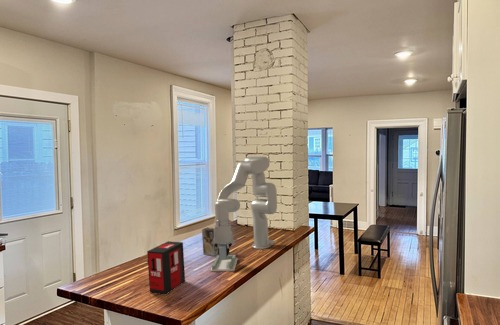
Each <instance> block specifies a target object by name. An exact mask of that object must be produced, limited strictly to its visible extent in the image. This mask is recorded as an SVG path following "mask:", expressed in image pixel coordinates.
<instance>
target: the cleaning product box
mask: <svg viewBox="0 0 500 325" xmlns="http://www.w3.org/2000/svg"><path fill="white" fill-rule="evenodd" d="M146 254H147V265H148V266H147V267H148V281H149V282H148V283H149V293H150V292H152V293H151V294H154V293H160V294H159V295H161V294H167V293H168V292H169V293H171V292H172V291H174V290H175V289H177V288H178V287H179V286H180V285H182V284H183V283H185V282H186V273H185V258H184V256H185V254H184V242H183V241H182V242H180V241H169V240H168V241H166V242H163V243H162V244H160V245H157V246H155V247H153V248H151V249H149V250H147V253H146ZM174 288H175V289H174ZM173 289H174V290H173ZM171 290H172V291H171ZM170 291H171V292H170ZM169 293H168V294H169ZM168 294H167V295H168Z"/></svg>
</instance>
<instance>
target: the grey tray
mask: <svg viewBox="0 0 500 325" xmlns="http://www.w3.org/2000/svg"><path fill="white" fill-rule="evenodd" d="M238 259H239V258H238V257H236V254H228V256H227V258H226V260H220V258H219V254H218V255H216V256H215V259H214V261H213V263H212V265H211V268H210V272H235V270H236V266H237V263H238Z"/></svg>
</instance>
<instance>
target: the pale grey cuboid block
mask: <svg viewBox="0 0 500 325" xmlns="http://www.w3.org/2000/svg"><path fill="white" fill-rule="evenodd" d="M226 249H227V245H226V243H220V247H219V254H218V255H219V258H220V260H226V258H227V253H226Z"/></svg>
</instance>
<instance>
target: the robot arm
mask: <svg viewBox="0 0 500 325" xmlns="http://www.w3.org/2000/svg"><path fill="white" fill-rule="evenodd" d="M270 164H271V163H270V160H269V158H268V157H267V156H249V157H245V159H244V160H241V161H238V163H237V165H236V168H235V169H234V170H235V171H234V174H233V176H232V178H231V181H230V182H229V183H227V184H226V185H225V186H224V187H223V188H222V189H221V191H220V192H219V195H218V196H217V198H216V199H217V200H216V202H215V203H214V214H215V215H214V216H215V217H214V218H215V225H214V227H213V228H214V239H213V241H212V243H211V244H213V245H215V246H216V247H217V249H218V255H219V247H220V245H221V243H226V245H227V249H226V253H227V256H228V255H230V248H231V247H232V246H233V245H234V244H235V243H236V241H235V240H234V238H233V231H232V226H231V223H233V222H232V220H230V217H229V216H230V215H229V213H234V212H235V213H236V212H237V211H239V210H240V208H241V203H240V201H239V200H238V199H236V198H229V197H230V196H231V194H233V193H234V192H237V191H239V190H241V189H243V188H245V185H246V183H247V180H248V177H249V176H250V175H251V182H252V194H253V196H255V197H258V198H254V199H253V200H252V201H251V203H250V210H251V214H252V225H253V226H252V227H253V229H252V230H253V243H252V244H251V248H253V249H256V250H263V249H264V250H265V249H268V248H271V247H272V245H273V244H276V240H274V239H269V223H268V217H267V215H274V214H275V213H277V209H278V199H277V198H278V197H277V196H278V195H277V187H276V185H275V184H274V183H272V182H266V175H265V171H266V170H268V169H269V167H270ZM217 243H218V244H217Z"/></svg>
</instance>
